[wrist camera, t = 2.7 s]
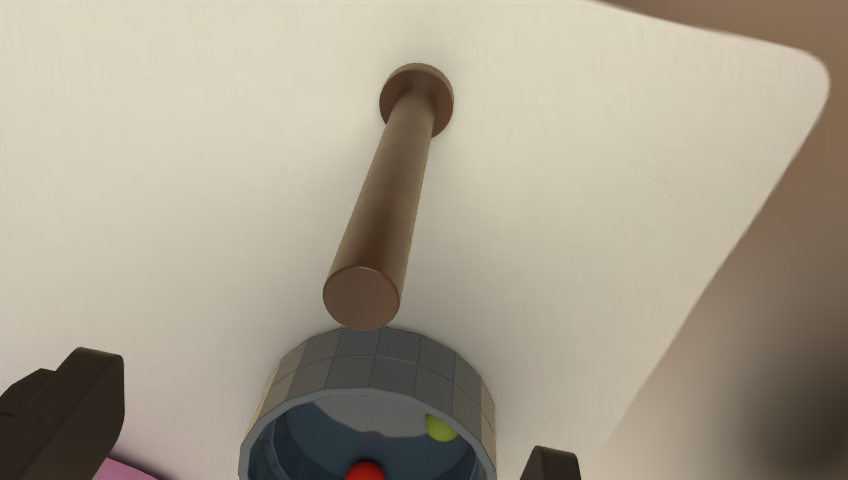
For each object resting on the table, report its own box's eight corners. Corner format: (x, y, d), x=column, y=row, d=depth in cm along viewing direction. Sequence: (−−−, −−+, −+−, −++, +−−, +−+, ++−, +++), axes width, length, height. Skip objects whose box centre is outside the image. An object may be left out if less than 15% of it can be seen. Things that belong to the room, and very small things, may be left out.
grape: (467, 398, 40) (466, 426, 38) (458, 425, 42) (457, 453, 40) (430, 390, 40) (428, 417, 38) (422, 417, 42) (419, 445, 39)
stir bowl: (523, 350, 39) (530, 422, 34) (463, 510, 46) (461, 589, 41) (280, 297, 39) (249, 361, 33) (258, 467, 46) (230, 541, 41)
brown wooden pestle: (461, 72, 31) (445, 256, 15) (444, 140, 33) (414, 367, 17) (389, 55, 31) (299, 224, 15) (376, 124, 33) (283, 339, 17)
